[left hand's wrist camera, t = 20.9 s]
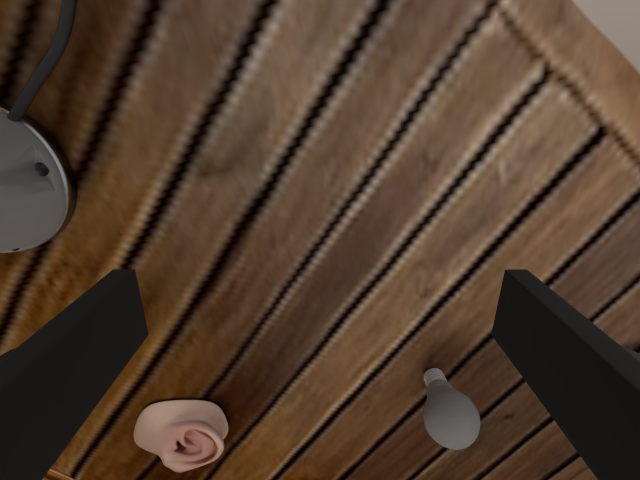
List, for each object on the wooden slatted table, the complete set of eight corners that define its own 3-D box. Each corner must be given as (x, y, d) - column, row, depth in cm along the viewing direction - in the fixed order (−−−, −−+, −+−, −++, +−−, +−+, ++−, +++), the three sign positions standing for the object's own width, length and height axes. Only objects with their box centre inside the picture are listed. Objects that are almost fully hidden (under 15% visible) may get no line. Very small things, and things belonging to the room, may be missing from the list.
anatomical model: (122, 481, 48) (113, 418, 44) (136, 454, 51) (130, 393, 47) (221, 489, 48) (222, 427, 44) (228, 461, 52) (229, 402, 48)
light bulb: (407, 358, 45) (430, 425, 36) (454, 351, 45) (490, 417, 35) (411, 394, 47) (433, 466, 38) (456, 388, 47) (490, 459, 38)
